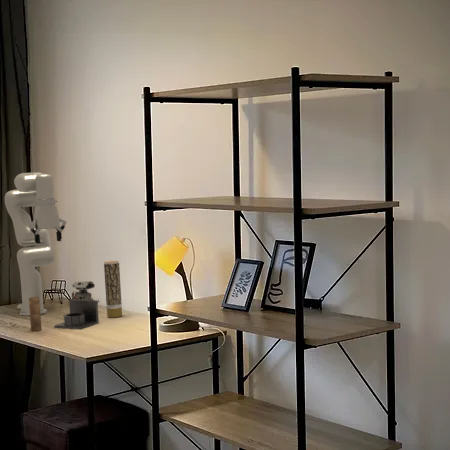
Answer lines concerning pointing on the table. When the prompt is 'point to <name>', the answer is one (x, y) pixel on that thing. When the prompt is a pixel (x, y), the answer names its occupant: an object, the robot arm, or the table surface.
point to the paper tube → (113, 289)
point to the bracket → (80, 315)
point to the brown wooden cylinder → (35, 313)
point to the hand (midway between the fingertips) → (48, 242)
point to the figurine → (83, 290)
